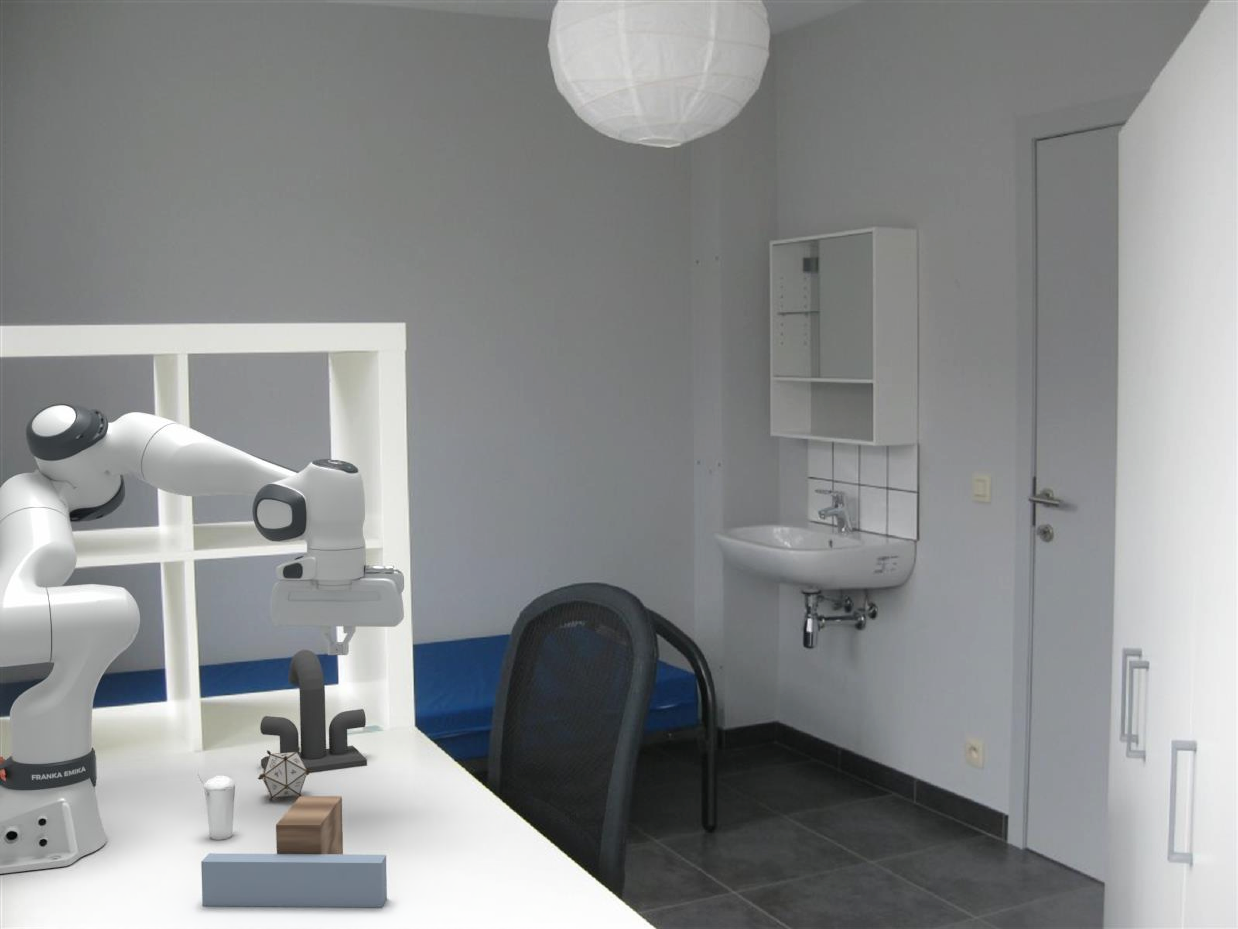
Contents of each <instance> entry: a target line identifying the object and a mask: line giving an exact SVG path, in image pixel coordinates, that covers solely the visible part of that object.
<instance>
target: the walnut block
mask: <svg viewBox="0 0 1238 929" xmlns="http://www.w3.org/2000/svg"><path fill="white" fill-rule="evenodd" d="M342 802H343V796H337V795H336V796H335V795H334V796H333V795H332V796H331V795H330V796H323V795H322V796H320V795H319V796H318V795H317V796H316V795H313V796H311V795H309V796H308V795H305V796H304V795H302V796H300V797H299V796H298V798H297V799H296V801H295V802H294V803H293V804H292V805H291V807H290V808H288V810H287V811H286V813H285V814H284V815H283V816H282V817H281V818H280V820H278V822H277V823H276V824H275V835H276V836H275V837H276V838H275V840H276V842H275V843H276V854H344V840H343V839H344V838H343V803H342Z"/></svg>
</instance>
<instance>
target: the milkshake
mask: <svg viewBox="0 0 1238 929" xmlns="http://www.w3.org/2000/svg"><path fill="white" fill-rule="evenodd" d="M197 776H198V778H199V780H200V782H201V784H202V785H203V789H204V790H203V791H204V796H205V804H206V813H207V823H208V829H209V830H208V832H209V838H210V839H212V840H214V841H215V840H216V841H222V840H227V839H230V838H231V837H232V836H233V833H234V832H233V829H234V807H235V794H236V793H235V792H236V790H235V789H236V782H235V780H234V779H233V778H232V777H229V776H227V775H215V776H214V777H213V778H209V779H208V780H207V781H206V782H205V783H203V780H202V779H201V777H200V775H199V774H197Z"/></svg>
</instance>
